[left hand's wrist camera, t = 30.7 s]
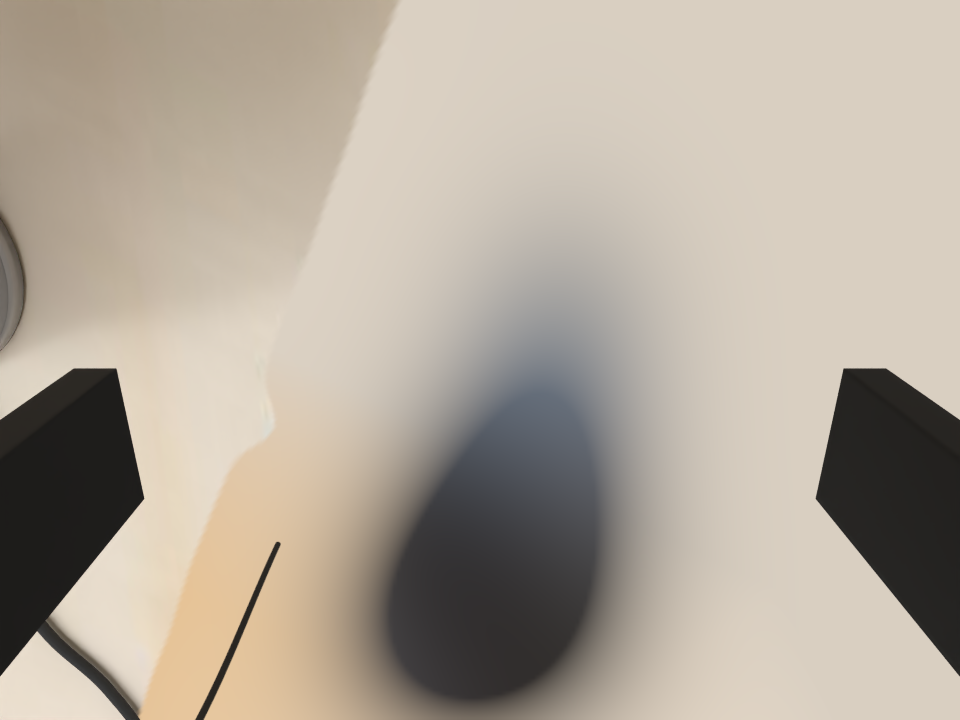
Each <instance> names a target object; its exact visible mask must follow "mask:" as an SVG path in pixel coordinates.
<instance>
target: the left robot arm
mask: <svg viewBox="0 0 960 720" xmlns="http://www.w3.org/2000/svg"><path fill="white" fill-rule="evenodd" d="M23 300H24V285H23V275H22V270H21V265H20V261H19V258H18V254H17V251H16V249H15V246H14V244H13V241H12V239H11V237H10V235H9V233H8V231H7V229H6V227H5V226H4V224H3V222H2V221H1V219H0V350H1V349H2V348H3V347H4V346H5V345H6V344H7V342H8V341H9V340H10V338H11V337H12V335H13V333H14V331H15V330H16V327H17V325H18V322H19V320H20V316H21V312H22V307H23ZM143 500H144V495H143V490H142V486H141V481H140V476H139V472H138V467H137V462H136V458H135V453H134V448H133V444H132V439H131V434H130V430H129V425H128V420H127V416H126V411H125V406H124V402H123V397H122V393H121V388H120V383H119V379H118V374H117V369H73V370H71V371H70V372H68V373H67V374H65V375H64V376H63V377H61V378H60V379H58V380H57V381H55V382H54V383H52V384H51V385H50V386H48V387H47V388H45V389H44V390H42V391H41V392H40V393H38V394H37V395H35V396H34V397H32V398H31V399H30V400H28V401H27V402H25V403H24V404H22V405H21V406H20V407H18V408H17V409H15V410H14V411H12V412H11V413H10V414H8V415H7V416H5V417H4V418H2V419H1V420H0V676H1V675H2V674H3V672H4V671H5V670H6V669H7V667H8V666H9V665H10V664H11V662H12V661H13V660H14V659H15V657H16V656H17V655H18V654H19V653H20V651H21V650H22V649H23V648H24V646H25V645H26V644H27V643H28V641H29V640H30V639H31V638H32V637H33V635H34V634H35V633H36V632H37V631H38V632H39V634H40V635H41V636H42V637H43V638H44V639H45V640H46V641H47V642H48V643H49V645H50V646H51V647H53V648H54V649H55V650H56V651H57V652H58V653H59V654H60V655H61V656H62V657H64V658H65V659H66V660H67V661H68V662H70V663H71V664H72V665H73V666H75V667H76V668H77V669H78V670H79V671H81V672H82V673H83V674H84V675H85V676H87V677H88V678H89V679H90V680H91V681H92V682H93V683H94V684H95V685H96V686H97V687H98V688H99V689H100V690H101V691H102V692H103V693H104V694H105V696H106V697H107V698H108V699H109V700H110V701H111V703H112V704H113V705H114V706H115V707H116V708H117V710H118V711H119V712H120V713H121V714H122V716H123V717H124V718H125V719H126V720H140V719H139V718H138V716H137V715H136V713H135V712H134V710H133V709H132V708H131V707H130V705H129V704H128V703H127V702H126V701H125V699H124V698H123V697H122V696H121V695H120V693H119V692H118V691H117V690H116V689H115V688H114V686H113V685H112V684H111V683H110V682H109V681H108V680H107V679H106V678H105V677H104V676H103V675H102V674H101V673H100V672H99V671H98V670H97V669H96V668H95V667H94V666H93V665H91V664H90V663H89V662H88V661H87V660H85V659H84V658H83V657H82V656H81V655H79V654H78V653H77V652H76V651H75V650H73V649H72V648H71V647H70V646H69V645H68V644H67V643H65V642H64V641H63V640H62V639H61V638H60V637H59V636H58V635H57V634H56V633H55V631H54V630H53V629H52V628H51V627H50V626H49V625H48V623H47V622H46V619H47V618H48V617H49V616H50V614H51V613H52V612H53V611H54V609H55V608H56V607H57V606H58V604H59V603H60V602H61V601H62V600H63V598H64V597H65V596H66V595H67V593H68V592H69V591H70V590H71V588H72V587H73V586H74V585H75V584H76V582H77V581H78V580H79V579H80V577H81V576H82V575H83V574H84V572H85V571H86V570H87V569H88V568H89V566H90V565H91V564H92V563H93V561H94V560H95V559H96V558H97V556H98V555H99V554H100V553H101V551H102V550H103V549H104V548H105V547H106V545H107V544H108V543H109V542H110V540H111V539H112V538H113V537H114V535H115V534H116V533H117V532H118V531H119V529H120V528H121V527H122V526H123V524H124V523H125V522H126V521H127V519H128V518H129V517H130V516H131V515H132V513H133V512H134V511H135V510H136V508H137V507H138V506H139V505H140V503H141V502H142V501H143ZM816 500H817V501H818V502H819V503H820V505H821V506H822V507H823V508H824V510H825V511H826V512H827V513H828V514H829V516H830V517H831V518H832V519H833V521H834V522H835V523H836V524H837V526H838V527H839V528H840V529H841V531H842V532H843V533H844V534H845V535H846V537H847V538H848V539H849V540H850V542H851V543H852V544H853V545H854V546H855V548H856V549H857V550H858V551H859V553H860V554H861V555H862V556H863V558H864V559H865V560H866V561H867V563H868V564H869V565H870V566H871V568H872V569H873V570H874V571H875V572H876V574H877V575H878V576H879V577H880V579H881V580H882V581H883V582H884V583H885V585H886V586H887V587H888V588H889V590H890V591H891V592H892V593H893V595H894V596H895V597H896V598H897V600H898V601H899V602H900V603H901V604H902V606H903V607H904V608H905V609H906V611H907V612H908V613H909V614H910V616H911V617H912V618H913V619H914V621H915V622H916V623H917V624H918V625H919V627H920V628H921V629H922V630H923V632H924V633H925V634H926V635H927V637H928V638H929V639H930V640H931V641H932V643H933V644H934V645H935V646H936V648H937V649H938V650H939V651H940V653H941V654H942V655H943V656H944V657H945V659H946V660H947V661H948V662H949V664H950V665H951V666H952V667H953V669H954V670H955V671H956V672H957V674H958V675H959V676H960V420H959V419H958V418H956V417H955V416H953V415H952V414H950V413H949V412H948V411H946V410H945V409H943V408H942V407H940V406H939V405H938V404H936V403H935V402H933V401H932V400H930V399H929V398H928V397H926V396H925V395H923V394H922V393H920V392H919V391H918V390H916V389H915V388H913V387H912V386H910V385H909V384H907V383H906V382H905V381H903V380H902V379H900V378H899V377H897V376H896V375H895V374H893V373H892V372H890V371H889V370H887V369H843V374H842V379H841V383H840V388H839V393H838V397H837V402H836V407H835V411H834V416H833V421H832V425H831V430H830V435H829V439H828V444H827V449H826V453H825V458H824V462H823V467H822V472H821V476H820V481H819V486H818V490H817V495H816ZM280 545H281V543H280V542H276V543H275V545H274V547H273V549H272V552H271V554H270V556H269V558H268V560H267V562H266V565H265V567H264V569H263V571H262V574H261V576H260V578H259V581H258V583H257V585H256V587H255V590H254V592H253V594H252V597H251V599H250V601H249V604H248V606H247V608H246V611H245V613H244V615H243V618H242V620H241V622H240V625H239V627H238V630H237V632H236V634H235V636H234V639H233V641H232V643H231V646H230V648H229V650H228V652H227V655H226V657H225V659H224V661H223V663H222V666H221V668H220V670H219V672H218V674H217V677H216V679H215V681H214V683H213V685H212V687H211V689H210V691H209V693H208V695H207V697H206V699H205V701H204V703H203V705H202V707H201V709H200V711H199V713H198V715H197V717H196V719H195V720H204V718H205V716H206V714H207V712H208V710H209V708H210V706H211V704H212V702H213V700H214V698H215V696H216V694H217V691H218V689H219V687H220V685H221V683H222V681H223V679H224V676H225V674H226V672H227V670H228V667H229V665H230V663H231V661H232V658H233V656H234V653H235V651H236V649H237V647H238V644H239V642H240V639H241V637H242V635H243V632H244V630H245V627H246V625H247V623H248V620H249V618H250V615H251V613H252V611H253V608H254V606H255V603H256V601H257V599H258V596H259V594H260V591H261V589H262V587H263V584H264V582H265V580H266V577H267V575H268V573H269V570H270V568H271V566H272V563H273V561H274V559H275V556H276V554H277V552H278V550H279V548H280Z"/></svg>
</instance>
